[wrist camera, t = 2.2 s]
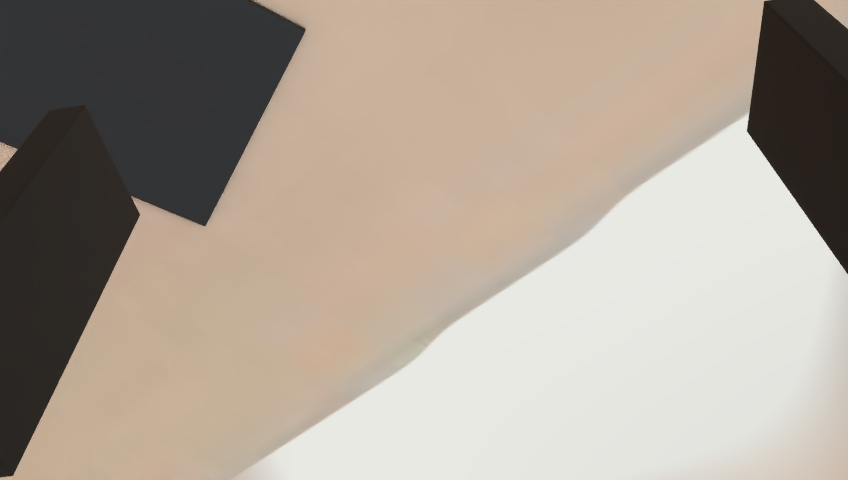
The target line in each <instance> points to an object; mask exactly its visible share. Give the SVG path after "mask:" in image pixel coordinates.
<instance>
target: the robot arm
mask: <svg viewBox="0 0 848 480" xmlns="http://www.w3.org/2000/svg"><path fill="white" fill-rule="evenodd" d="M747 132H748V133H749V135H750V136H751V137H752V139H753V140H754V142H755V143H756V144H757V146H758V147H759V149H760V150H761V152H762V153H763V154H764V156H765V157H766V158H767V160H768V162H769V163H770V164H771V166H772V167H773V169H774V170H775V171H776V173H777V174H778V176H779V177H780V179H781V180H782V181H783V183H784V184H785V186H786V187H787V188H788V190H789V191H790V193H791V194H792V196H793V197H794V198H795V199H796V201H797V203H798V204H799V206H800V207H801V208H802V210H803V211H804V212H805V214H806V215H807V217H808V218H809V220H810V221H811V222H812V224H813V225H814V227H815V228H816V230H817V231H818V232H819V234H820V235H821V237H822V238H823V240H824V241H825V242H826V244H827V245H828V247H829V248H830V250H831V251H832V252H833V254H834V255H835V257H836V258H837V259H838V261H839V262H840V264H841V265H842V266H843V268H844V269H845V271H846V272H847V274H848V29H847V28H846V27H845V26H844V25H842V24H841V23H840V22H839V21H838V20H837V19H835V18H834V17H833V16H832V15H831V14H830V13H828V12H827V11H826V10H825V9H824V8H823V7H821V6H820V5H819V4H818V3H817V2H816V1H814V0H769V1H764V8H763V15H762V23H761V30H760V38H759V45H758V53H757V60H756V68H755V75H754V83H753V90H752V98H751V105H750V113H749V121H748V128H747ZM139 216H140V214H139V212H138V210H137V208H136V206H135V204H134V202H133V200H132V198H131V196H130V194H129V192H128V190H127V188H126V186H125V184H124V182H123V180H122V178H121V176H120V173H119V171H118V169H117V167H116V165H115V163H114V161H113V159H112V157H111V155H110V153H109V151H108V149H107V147H106V145H105V143H104V141H103V139H102V137H101V135H100V133H99V131H98V129H97V127H96V125H95V123H94V121H93V119H92V117H91V115H90V113H89V111H88V109H87V107H86V105H81V106H74V107H68V108H61V109H55V110H49V111H48V112H47V114H46V115H45V116H44V117H43V119H42V120H41V121H40V122H39V124H38V125H37V126H36V127H35V129H34V130H33V131H32V133H31V134H30V135H29V136H28V138H27V139H26V140H25V141H24V143H23V144H22V145H21V146H20V148H19V149H18V150H17V151H16V153H15V154H14V155H13V156H12V158H11V159H10V160H9V161H8V163H7V164H6V165H5V166H4V168H3V169H2V170H1V171H0V477H7V476H13V474H14V472H15V470H16V468H17V466H18V464H19V462H20V460H21V458H22V456H23V454H24V452H25V450H26V448H27V446H28V444H29V442H30V440H31V437H32V435H33V433H34V431H35V429H36V427H37V425H38V423H39V421H40V419H41V417H42V415H43V413H44V411H45V409H46V407H47V405H48V403H49V401H50V398H51V396H52V394H53V392H54V390H55V388H56V386H57V384H58V382H59V380H60V378H61V376H62V374H63V372H64V370H65V368H66V366H67V364H68V362H69V359H70V357H71V355H72V353H73V351H74V349H75V347H76V345H77V343H78V341H79V339H80V337H81V335H82V333H83V331H84V329H85V327H86V325H87V323H88V321H89V318H90V316H91V314H92V312H93V310H94V308H95V306H96V304H97V302H98V300H99V298H100V296H101V294H102V292H103V290H104V288H105V286H106V284H107V282H108V279H109V277H110V275H111V273H112V271H113V269H114V267H115V265H116V263H117V261H118V259H119V257H120V255H121V253H122V251H123V249H124V247H125V245H126V243H127V240H128V238H129V236H130V234H131V232H132V230H133V228H134V226H135V224H136V222H137V220H138V218H139Z"/></svg>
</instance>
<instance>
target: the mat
mask: <svg viewBox="0 0 848 480" xmlns="http://www.w3.org/2000/svg"><path fill="white" fill-rule="evenodd" d="M304 33H305V29H304V28H302V27H300V26H298V25H297V24H295V23H293V22H291V21H289V20H287V19H285V18H283V17H281V16H280V15H278V14H276V13H274V12H272V11H270V10H268V9H266V8H264V7H263V6H261V5H259V4H257V3H255V2H253V1H251V0H0V142H2V143H5V144H7V145H10V146H12V147H14V148H17V149H19V148H20V146H21V145H22V144H23V143H24V141H25V140H26V139H27V138H28V136H29V135H30V134H31V133H32V131H33V130H34V129H35V127H36V126H37V125H38V124H39V122H40V121H41V120H42V119H43V117H44V116H45V115H46V114H47V112H48V111H49V110H55V109H61V108H68V107H74V106H81V105H86V107H87V109H88V111H89V113H90V115H91V117H92V119H93V121H94V123H95V125H96V127H97V129H98V131H99V133H100V135H101V137H102V139H103V141H104V143H105V145H106V147H107V149H108V151H109V153H110V155H111V157H112V159H113V161H114V163H115V165H116V167H117V169H118V171H119V173H120V176H121V178H122V180H123V182H124V184H125V186H126V188H127V190H128V192H129V194H130V196H133V197H135V198H138V199H140V200H142V201H145V202H147V203H150V204H152V205H155V206H157V207H159V208H162V209H164V210H167V211H169V212H171V213H174V214H176V215H179V216H181V217H184V218H186V219H188V220H191V221H193V222H196V223H198V224H200V225H203V226H206V224H207V222H208V220H209V218H210V216H211V214H212V212H213V210H214V208H215V206H216V204H217V202H218V201H219V199H220V197H221V195H222V193H223V191H224V189H225V187H226V185H227V183H228V181H229V179H230V177H231V175H232V173H233V171H234V169H235V167H236V165H237V163H238V161H239V160H240V158H241V156H242V154H243V152H244V150H245V148H246V146H247V144H248V142H249V140H250V138H251V136H252V134H253V132H254V130H255V128H256V126H257V124H258V122H259V121H260V119H261V117H262V115H263V113H264V111H265V109H266V107H267V105H268V103H269V101H270V99H271V97H272V95H273V93H274V91H275V89H276V87H277V85H278V83H279V82H280V80H281V78H282V76H283V74H284V72H285V70H286V68H287V66H288V64H289V62H290V60H291V58H292V56H293V54H294V52H295V50H296V48H297V46H298V44H299V42H300V41H301V39H302V37H303V35H304Z"/></svg>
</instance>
